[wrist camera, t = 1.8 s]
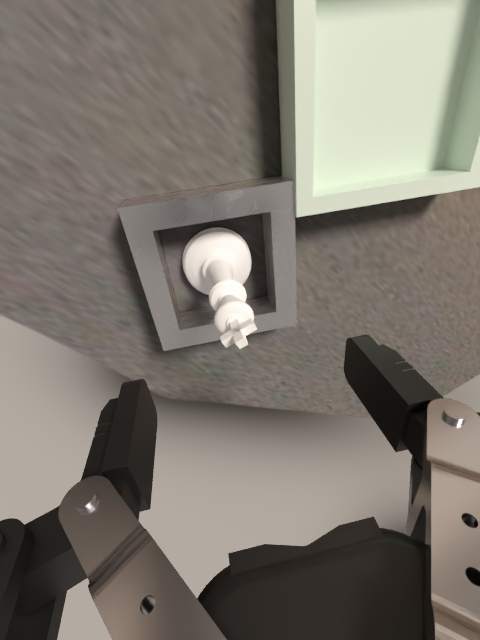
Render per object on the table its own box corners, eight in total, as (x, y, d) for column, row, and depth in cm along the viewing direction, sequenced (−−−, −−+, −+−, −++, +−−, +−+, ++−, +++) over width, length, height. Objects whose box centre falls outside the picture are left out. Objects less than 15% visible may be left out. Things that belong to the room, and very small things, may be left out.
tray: (273, -63, 14) (292, -102, 12) (509, -83, 15) (571, -123, 12) (283, 207, 20) (296, 217, 18) (446, 180, 21) (479, 186, 19)
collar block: (124, 199, 18) (117, 208, 16) (281, 175, 19) (294, 180, 17) (165, 331, 24) (163, 351, 22) (286, 308, 25) (296, 324, 23)
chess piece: (262, 269, 23) (312, 350, 14) (208, 304, 23) (224, 400, 15) (227, 212, 20) (263, 270, 12) (167, 253, 21) (160, 335, 12)
